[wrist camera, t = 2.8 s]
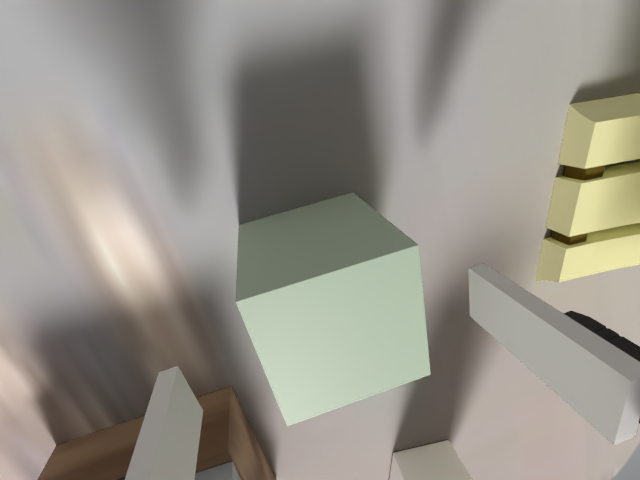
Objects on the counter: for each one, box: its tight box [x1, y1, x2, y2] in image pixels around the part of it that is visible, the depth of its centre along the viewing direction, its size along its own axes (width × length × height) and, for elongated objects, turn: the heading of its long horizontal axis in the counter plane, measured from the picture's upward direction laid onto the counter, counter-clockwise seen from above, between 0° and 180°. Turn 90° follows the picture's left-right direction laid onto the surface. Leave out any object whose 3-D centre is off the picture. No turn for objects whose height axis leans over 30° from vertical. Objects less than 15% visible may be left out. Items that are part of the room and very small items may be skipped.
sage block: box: [236, 192, 431, 426], centre depth 17 cm, size 7×7×8 cm
